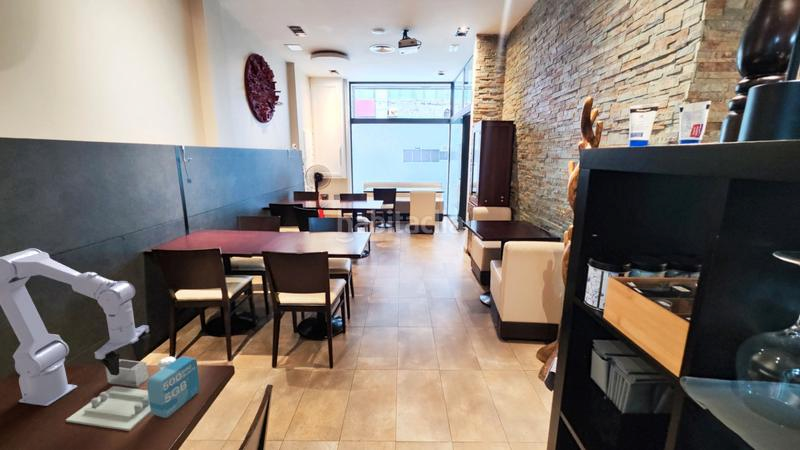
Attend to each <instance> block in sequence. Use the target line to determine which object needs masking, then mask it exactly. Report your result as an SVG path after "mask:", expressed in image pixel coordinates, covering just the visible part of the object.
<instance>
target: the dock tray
mask: <svg viewBox="0 0 800 450" xmlns="http://www.w3.org/2000/svg"><path fill="white" fill-rule="evenodd" d="M150 414H151V409H150V402H149V396H148V389H140V388H139V389H137V388H130V387H124V386H123V387H122V386H115V385H113V386H111V387H110V388H109V389H107V390H106V391H102V392H100V393H99V395H98V396H97V397H93V398H91V400H90V402H88V403H87V404H86V405H84V406H83V407H82V408H80V409H78V410H77V411H76V412H74V413H73V414H72V415H70V416H69V417H67V418H66V419H65V422H67V423H73V424H81V425H87V426H94V427H101V428H108V429H115V430H122V431H128V432H131V431H132V430H133V429H134V428H135V427H136V426H137V425H139V424H140V423H141V421H143V420H144V419H145V418H146V417H147V416H149V415H150Z"/></svg>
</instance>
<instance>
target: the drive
mask: <svg viewBox="0 0 800 450" xmlns="http://www.w3.org/2000/svg"><path fill="white" fill-rule="evenodd" d="M119 371H120V372H119V374H118V375H117V376H116V375H111V374H110V372H109V370H108V369H107V367H106V366H105V372H106V377H107V383H108V384H111V385H118V386H127V387H135V388H137V387H139V386H141V385H142V384H143V383H144V382H147V381H148V380H149V373H148V367H147V362H146V361H139V360H138V361H137V360H131V359H130V360H129V359H121V358H120V359H119Z"/></svg>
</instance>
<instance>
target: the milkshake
mask: <svg viewBox="0 0 800 450" xmlns="http://www.w3.org/2000/svg"><path fill="white" fill-rule="evenodd" d="M177 355H178V351H176V352H175V355H174V356H167V357H163V358H162V359H161V358H160V360H159V361H158V363H157V366H158V369H159V371H160V370H162V369H163V368H165V367H166V366H168V365H169V364H171V363H172V362H174V361H175V360H177Z"/></svg>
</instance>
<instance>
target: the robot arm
mask: <svg viewBox="0 0 800 450" xmlns="http://www.w3.org/2000/svg"><path fill="white" fill-rule="evenodd" d="M34 276H42V277H46V278H48V279H52V280H56V281H58V282H62V283H65V284H68V285H71V288H72V290H73V291H74V292H76V293H79V294H81V295H84V296H86V297H88V298H92V299H94V300H96V301H97V304H98V305H99V306H100V307H101V308H102V309H103V313H105V315H106V322H107V329H108V335H109V340H108V341H107V342H106V343H105V344H103V346H101V347H100V348H99V349H98V350H96V351H94V358H95V359H96V360H98V361H99V362H100V363H102V364H103V365H104V367H105V368H106V367H107V369H108V370H109V372H110V374H111V375H116V376H117V375H118V374H119V372H120V371H119V359H121V354H118V353H116V351H115V350H117V349H119V348H122V347H124V346H126V345H129V344H131V345H132V349H133V351H132V352H133V354H134V358H135V359H138V360H139V359H140V360H142V359H144V356H145V350H146V347H147V345H148V342H149V340H150V338H151V334H150V333H149V332H150V327H149V325H146V324H145V325H144V324H142V325H141V326H139V327H136V326H135V325H136V324H135V318H134V310H133V303H132V299H133V298H134V296H135V295H136V289H135V287H134V285H132V283H130V282H128V281H127V280H119V281H118V280H117V281H116V280H115V281H114V280H112V279H109V278H106V277H102V276H101V275H99V274H98V273H96V272H94V271H87V272H84V273H81V272H80V271H77V270H75V269H73V268H70V267H69V266H66V265H64V264H62V263H60V262H58V261H56V260H54V259H52V258H51V257H50V254H49V253H48V252H46V251H41V250H40V249H38V248H34V247H33V248H32V247H30V248H26V249H24V250H22V251H18V252H14V253H10V254H7V255H4V256H0V307H1V309H2V311H3V312H4V314H5V317H6V319H7V320H8V322H9V324H10V326H11V327H12V330H13V332H14V333H15V335H16V337H17V340H18V342H19V343H20V344H19V346H18V347H17V348H16V350H15V352H14V353H13V355H12V358H13V359H14V367H15V368H14V369H15V371H16V373H17V374H18V375H20V376H19V378H18V384H19V388H20V392H21V396H22V398H21V399H19V400H18V402H19V403H24V404H31V405H35V406H36V405H37V406H38V405H39V406H45V407H47V406H49V405H52V404H54V403H55V402H56V401H57V400H59V399H60V398H62V397H64V396H65V395H67V394H69V393H70V392H71V391H73V390H74V389H76V388H78V385H76V384H70V383H69V384H68V378H67V373H66V368H65V362H66V356H68V355H69V354H70V348H69V345H68V344H67V343H66V342H65V341H64V340H63V339H62V338H61V336H60V334H54V333H49V331H48V330H47V328H46V326H45V323H44V322H43V320H42V318H41V316H40V313H39V312H38V310H37V307H36V305H35V304H34V302H33V299H32V297H31V296H30V294H29V292H28V289H27V287H26V283H27V282H28V280H30V278H31V277H34Z"/></svg>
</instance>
